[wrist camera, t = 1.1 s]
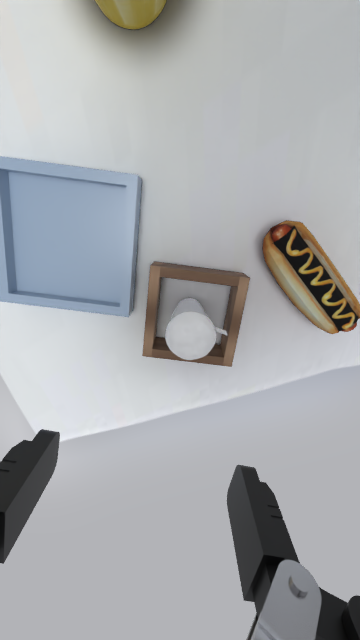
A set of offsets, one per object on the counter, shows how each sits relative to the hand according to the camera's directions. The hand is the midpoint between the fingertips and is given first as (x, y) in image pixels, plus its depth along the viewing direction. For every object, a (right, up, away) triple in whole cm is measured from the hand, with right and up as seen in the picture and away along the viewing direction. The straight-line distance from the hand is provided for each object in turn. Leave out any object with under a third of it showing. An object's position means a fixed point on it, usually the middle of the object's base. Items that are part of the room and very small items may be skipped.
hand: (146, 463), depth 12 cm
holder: (+3, +8, +19) cm, 21 cm away
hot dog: (+15, +11, +18) cm, 26 cm away
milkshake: (+3, +8, +20) cm, 21 cm away
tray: (-10, +15, +17) cm, 25 cm away
